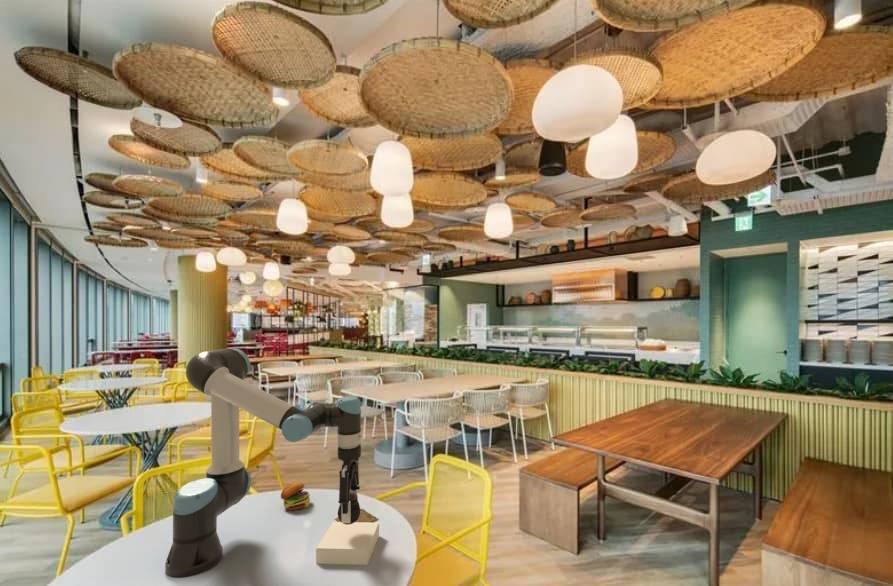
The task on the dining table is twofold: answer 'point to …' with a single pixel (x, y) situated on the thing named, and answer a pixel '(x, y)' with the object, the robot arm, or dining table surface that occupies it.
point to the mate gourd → (352, 509)
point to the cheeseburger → (295, 496)
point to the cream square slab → (348, 543)
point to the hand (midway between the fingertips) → (349, 516)
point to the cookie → (363, 517)
